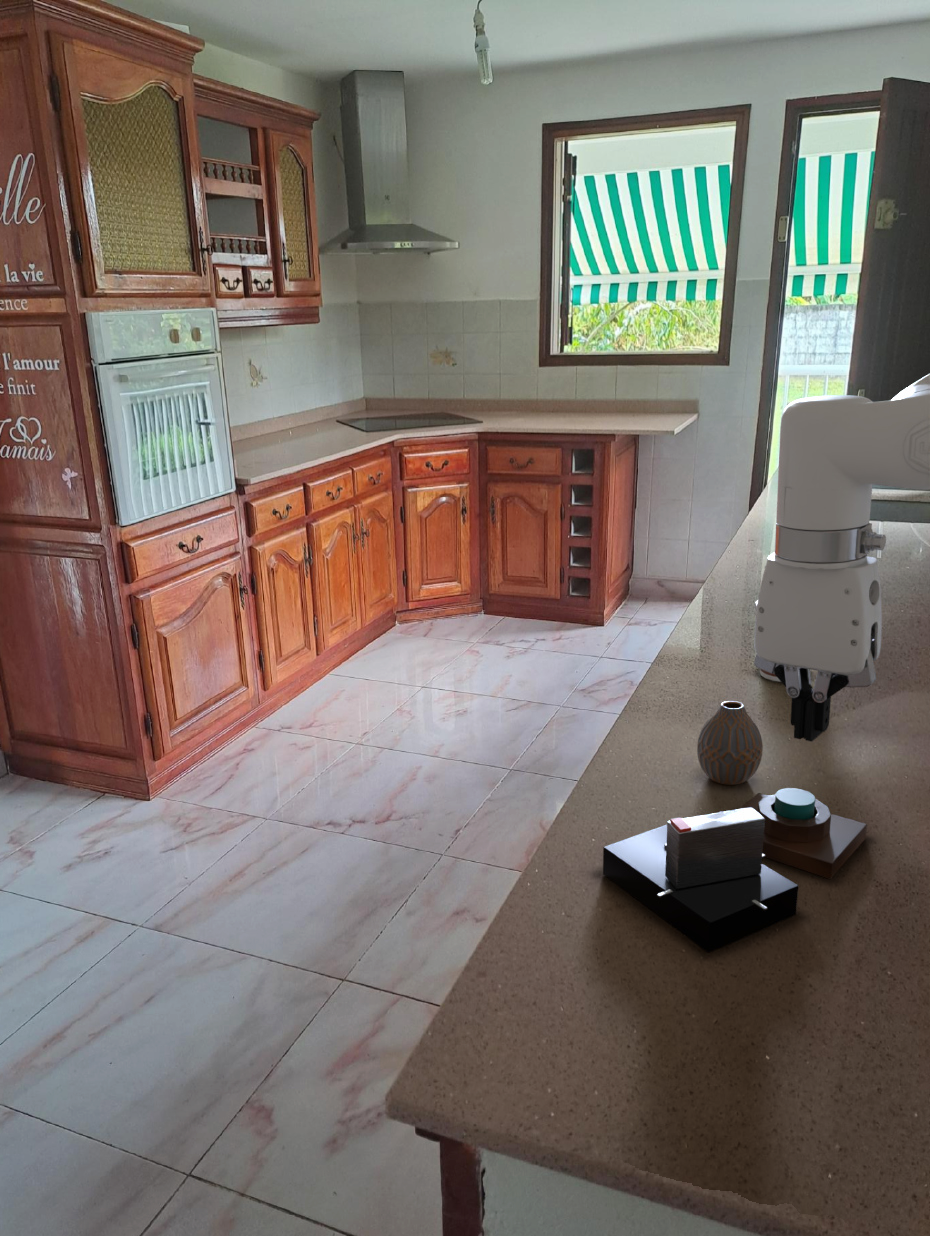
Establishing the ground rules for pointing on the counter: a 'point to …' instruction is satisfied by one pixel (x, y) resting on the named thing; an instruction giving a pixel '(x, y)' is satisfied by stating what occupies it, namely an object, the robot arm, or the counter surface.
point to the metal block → (714, 847)
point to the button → (794, 804)
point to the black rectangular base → (699, 893)
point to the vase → (730, 745)
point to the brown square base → (808, 837)
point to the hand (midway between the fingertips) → (808, 734)
